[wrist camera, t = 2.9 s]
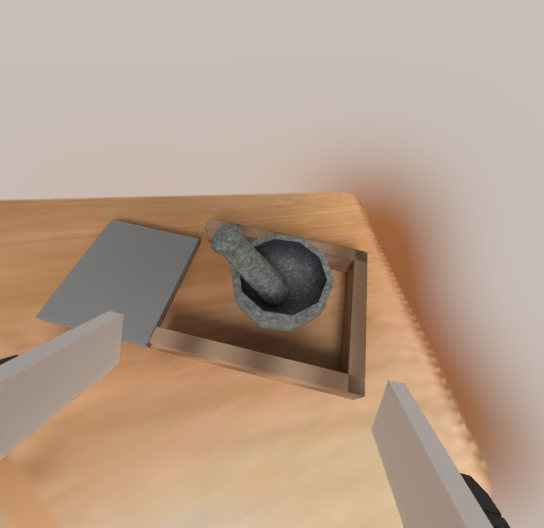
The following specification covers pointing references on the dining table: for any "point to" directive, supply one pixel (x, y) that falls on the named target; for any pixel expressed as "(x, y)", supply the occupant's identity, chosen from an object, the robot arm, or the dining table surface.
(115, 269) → the slate mat
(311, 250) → the mortar and pestle
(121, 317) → the robot arm
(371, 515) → the dining table surface
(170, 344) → the rectangular wooden frame
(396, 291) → the dining table surface
